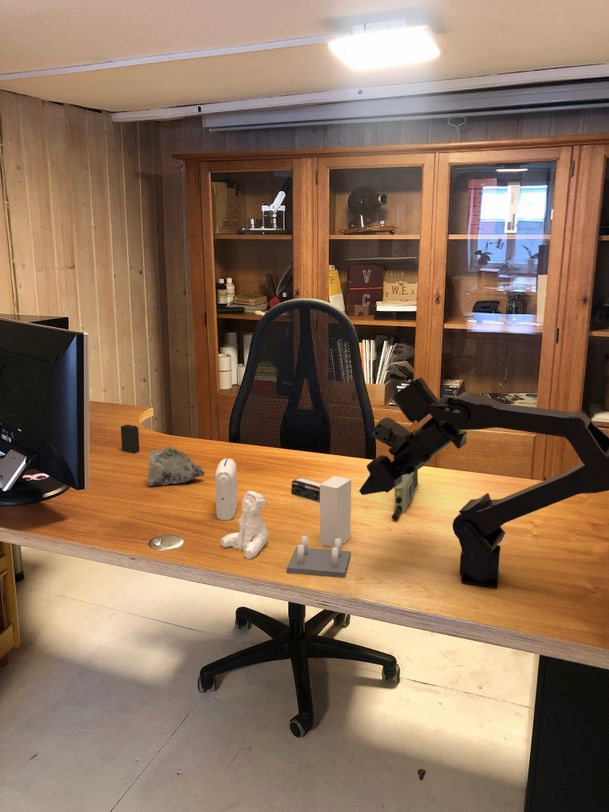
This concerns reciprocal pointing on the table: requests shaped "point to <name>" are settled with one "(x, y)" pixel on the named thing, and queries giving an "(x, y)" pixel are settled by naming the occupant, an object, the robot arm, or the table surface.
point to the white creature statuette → (249, 527)
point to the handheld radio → (405, 493)
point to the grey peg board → (319, 560)
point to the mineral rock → (171, 467)
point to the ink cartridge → (130, 438)
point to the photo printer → (226, 489)
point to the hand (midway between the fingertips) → (371, 485)
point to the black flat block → (306, 489)
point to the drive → (335, 510)
